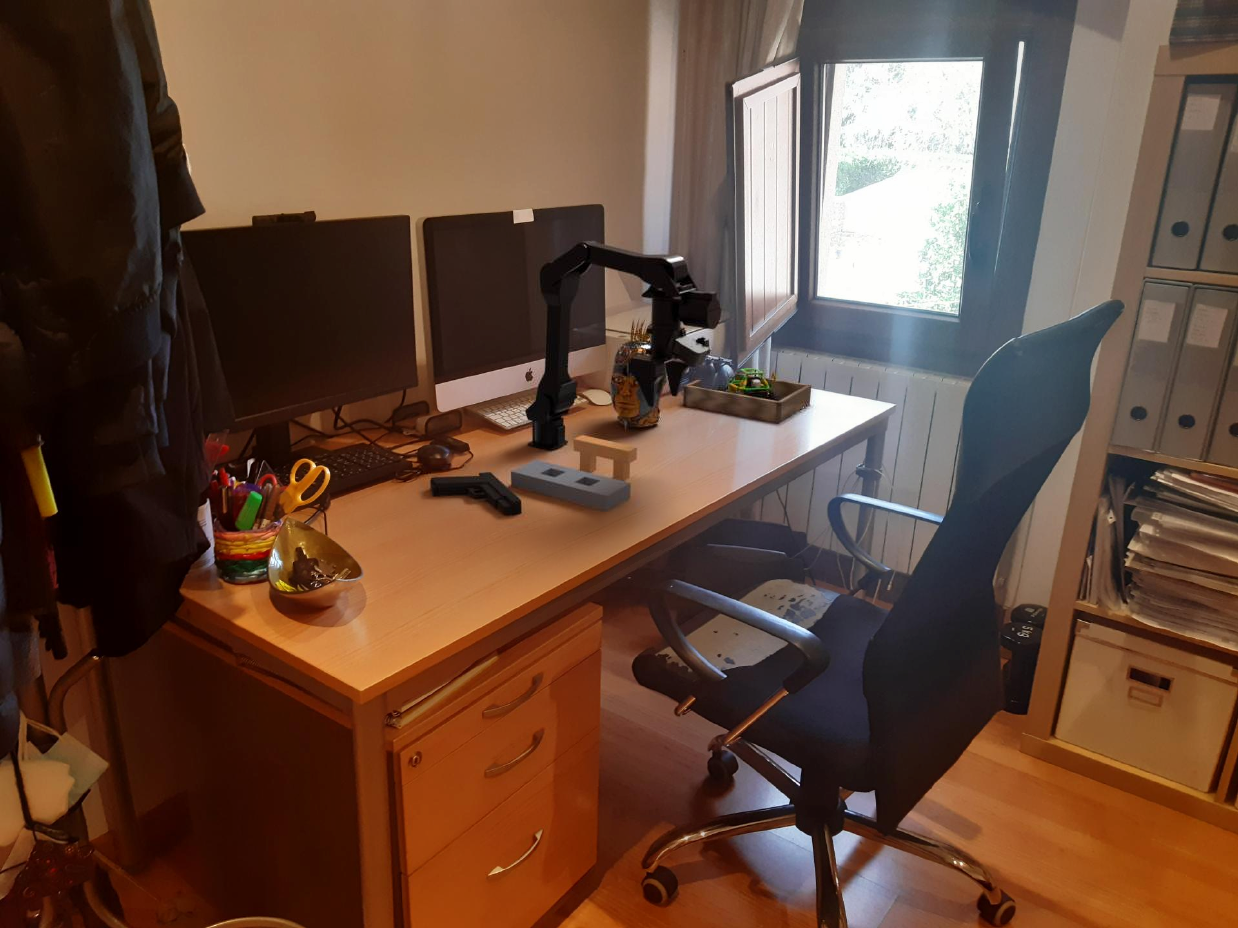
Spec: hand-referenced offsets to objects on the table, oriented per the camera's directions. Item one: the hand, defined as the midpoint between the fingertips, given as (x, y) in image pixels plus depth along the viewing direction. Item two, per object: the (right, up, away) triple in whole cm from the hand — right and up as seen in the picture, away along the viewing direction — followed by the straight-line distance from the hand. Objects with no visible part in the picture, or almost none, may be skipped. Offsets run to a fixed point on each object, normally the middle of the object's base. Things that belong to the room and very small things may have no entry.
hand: (663, 401), depth 180 cm
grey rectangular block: (-18, -18, -7) cm, 26 cm away
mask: (-4, -3, +35) cm, 35 cm away
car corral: (+24, +3, +52) cm, 57 cm away
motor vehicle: (+24, +3, +52) cm, 57 cm away
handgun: (-36, -20, -12) cm, 42 cm away
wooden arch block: (-12, -14, +3) cm, 19 cm away
